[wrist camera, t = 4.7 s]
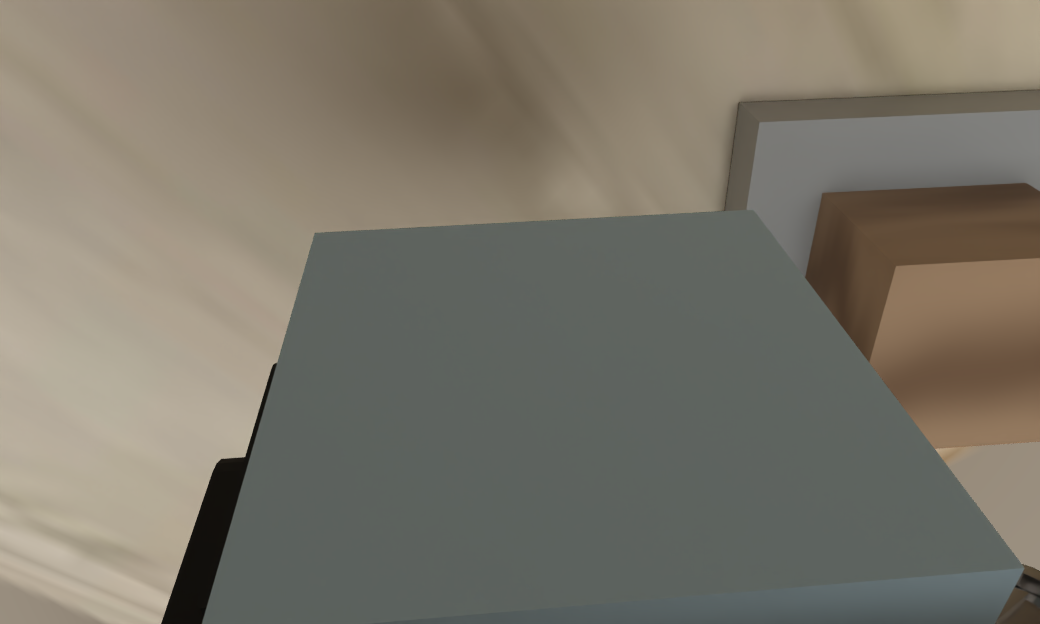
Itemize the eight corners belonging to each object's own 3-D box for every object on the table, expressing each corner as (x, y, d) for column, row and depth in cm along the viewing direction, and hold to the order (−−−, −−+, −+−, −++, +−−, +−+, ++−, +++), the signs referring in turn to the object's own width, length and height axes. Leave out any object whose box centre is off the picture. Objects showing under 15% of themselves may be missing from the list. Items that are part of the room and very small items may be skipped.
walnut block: (822, 192, 26) (896, 265, 21) (1026, 182, 26) (1138, 252, 22) (787, 363, 29) (843, 454, 25) (965, 352, 30) (1050, 440, 25)
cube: (315, 232, 10) (198, 638, 5) (753, 209, 11) (1023, 567, 6) (370, 533, 14) (329, 956, 9) (703, 507, 14) (847, 898, 9)
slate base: (739, 102, 26) (759, 122, 24) (1084, 88, 26) (1127, 106, 25) (700, 387, 32) (714, 418, 30) (978, 370, 33) (1007, 399, 31)
